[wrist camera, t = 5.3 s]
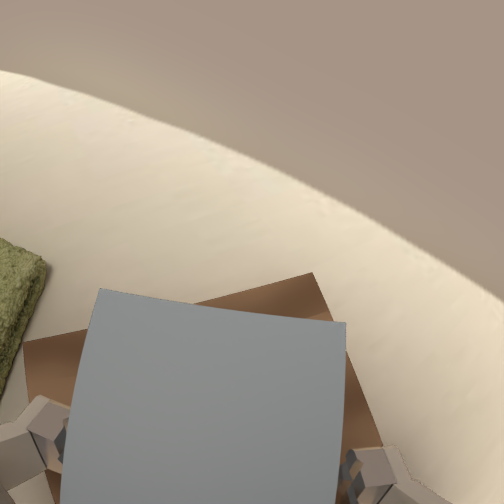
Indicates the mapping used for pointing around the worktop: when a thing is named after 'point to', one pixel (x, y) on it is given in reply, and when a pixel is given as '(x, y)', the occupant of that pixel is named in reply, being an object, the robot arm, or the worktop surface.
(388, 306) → the worktop surface
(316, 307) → the walnut board
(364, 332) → the worktop surface
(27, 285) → the washcloth
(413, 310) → the worktop surface
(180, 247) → the worktop surface
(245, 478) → the slate block
